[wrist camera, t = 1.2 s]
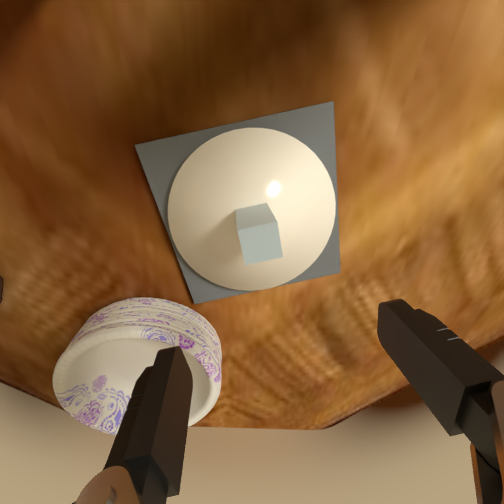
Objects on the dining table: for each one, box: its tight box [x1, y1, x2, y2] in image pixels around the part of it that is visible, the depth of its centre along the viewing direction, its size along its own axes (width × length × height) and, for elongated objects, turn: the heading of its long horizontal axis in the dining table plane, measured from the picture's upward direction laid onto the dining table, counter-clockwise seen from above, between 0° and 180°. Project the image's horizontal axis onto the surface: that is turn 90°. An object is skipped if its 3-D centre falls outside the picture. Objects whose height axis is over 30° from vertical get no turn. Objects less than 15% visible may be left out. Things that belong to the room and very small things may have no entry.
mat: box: [135, 101, 340, 304], centre depth 24 cm, size 17×17×1 cm
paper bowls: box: [52, 297, 222, 435], centre depth 26 cm, size 15×15×8 cm
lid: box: [168, 128, 336, 291], centre depth 21 cm, size 16×16×6 cm
